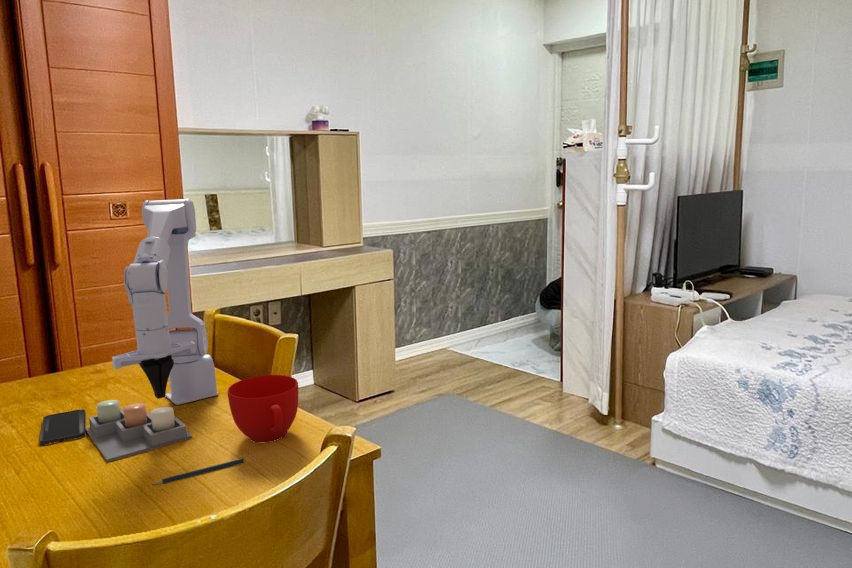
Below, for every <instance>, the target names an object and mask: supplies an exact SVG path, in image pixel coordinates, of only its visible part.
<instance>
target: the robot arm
mask: <svg viewBox="0 0 852 568" xmlns="http://www.w3.org/2000/svg"><path fill="white" fill-rule="evenodd" d="M141 216H142V217H141V218H142V222H143V226H144V227H145V228H146V229H147V236H146V237H145V238H143V239H142V240H141V241H140V242H139V244H138V246H137V250H136V254H135V257H134V260H133V262H132V263H130V264H129V266H126V267H125V269H124V272H123V283H124V288H125V291H126V293H127V297H128V302H129V305H131V307H132V313H133V314H132V315H133V323H134V329H135V331H134V332H135V337H136V345H137V346H136V347H137V349H136V350H133V351H129V352H125V353H122V354H118V355H114V356H111V363H112V368H113V369H115V370H118V369H119V370H120V369H122V368H124V367H127V366H128V367H129V366H133V365H137V364H138V365H139V368H141V369H142V371H143V373H144V374H145V376H146V377H147V379H148V381H149V384H150V385H151V388H152V390H153V394H154V397H155V398H157V400H158V399H159V400H160V399H163V398H167V399H168V400H169V401H170V402H172V403H173V405H176V406H178V405H183V404H187V403H191V402H194V401H195V402H196V401H199V400H203V399H208V398H211V397H214V396H218V395H219V392H218V390H217V389H218V388H217V380H216V379H217V378H216V377H217V376H216V368H215V364H214V363H215V362H214V361H213V358H212V356H211V355H210V354H207V352H208V349H209V345H208V344H209V343H208V339H209V338H208V333H207V331H206V329H207V328H206V324H205V322H204V321H203V320H202V319H201V318H200V317H198V316H196V315H194V314H193V313H192V305H191V303H192V300H191V287H190V286H191V285H190V269H189V252H188V249H189V248H188V247H189V241H190V240H191V239H194V238H195V237H196V234H197V233H196V232H197V224H196V223H197V222H196V221H197V220H196V209H195V204H194V202H193V201H192V200H191V198H185V199H183V198H182V199H162V200H161V199H160V200H159V199H157V200H150V199H147V200H145V201H144V202H143V204H142V207H141ZM166 292H167V301H168V302H167V301H166ZM167 305H168V310H167ZM179 328H180V329H179ZM181 328H182V329H181ZM183 328H188V329H183ZM190 328H191V329H190ZM171 329H175V330H171ZM176 329H177V330H176ZM168 380H169V381H168ZM168 382H169V386H170V387H169V388H170V392H168V393H166V392H167V385H168Z"/></svg>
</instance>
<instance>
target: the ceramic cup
mask: <svg viewBox="0 0 852 568" xmlns="http://www.w3.org/2000/svg"><path fill="white" fill-rule="evenodd" d="M226 393H227V398H228V404H229V405H228V406H229V408H230V414H231V416H232V419H233V422H234V423H235V425H236V427H237V428H238V430H240V432H241V433H242V434H243V435H244V436H245V437H247V438H248V439H249V440H250V441H251V440H252V441H251V442H253V441H254V443H257V442H267V443H271V442H270V441H273V442H275V441H274V440H276V441H278V440H277V439H279V438H281V437H282V438H283V437H285V435H286V433H287V432H288V431H289V429H290V428H291V426H292V425H293V423H294V422H295V419H296V416H297V412H298V407H299V381H298V380H297V379H296V378H294V377H292V376H288V375H283V374H264V375H257V376H252V377H248V378H244V379H241V380H238V381H236V382H234V383H233V384H230V386H229V387H228V389H227V392H226ZM284 434H285V435H284ZM282 438H281V439H282ZM279 440H280V439H279Z"/></svg>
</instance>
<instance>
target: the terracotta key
mask: <svg viewBox="0 0 852 568" xmlns="http://www.w3.org/2000/svg"><path fill="white" fill-rule="evenodd" d="M146 406H147V405H146V404H145V403H142V402H138V403H131V404H128V405H125V406H124V407H123V408H122V409H123V412H124V420H125V426H126V427H136V426H140V425H144V424H146V423H147V413H148V412H147V407H146Z"/></svg>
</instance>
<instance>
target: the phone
mask: <svg viewBox="0 0 852 568" xmlns="http://www.w3.org/2000/svg"><path fill="white" fill-rule="evenodd" d="M86 414H87V413H86V409H84V408H81V409H75V410H70V411H64V412H59V413H53V414H48V415H45V416H43V418H42V424H41V429H40V435H39V445H41V444H47V445H50V444H49V443H52V444H55V443H54V442H57V443H60V442H59V441H63V442H66V441H67V440H68V441H72V440H71V439H73V440H76V439H77V440H78V439H81V438H83V437H86V435H87V434H86V433H87V432H86V429H85V428H87V425H86V421H87V420H86V419H87V416H86Z"/></svg>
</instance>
